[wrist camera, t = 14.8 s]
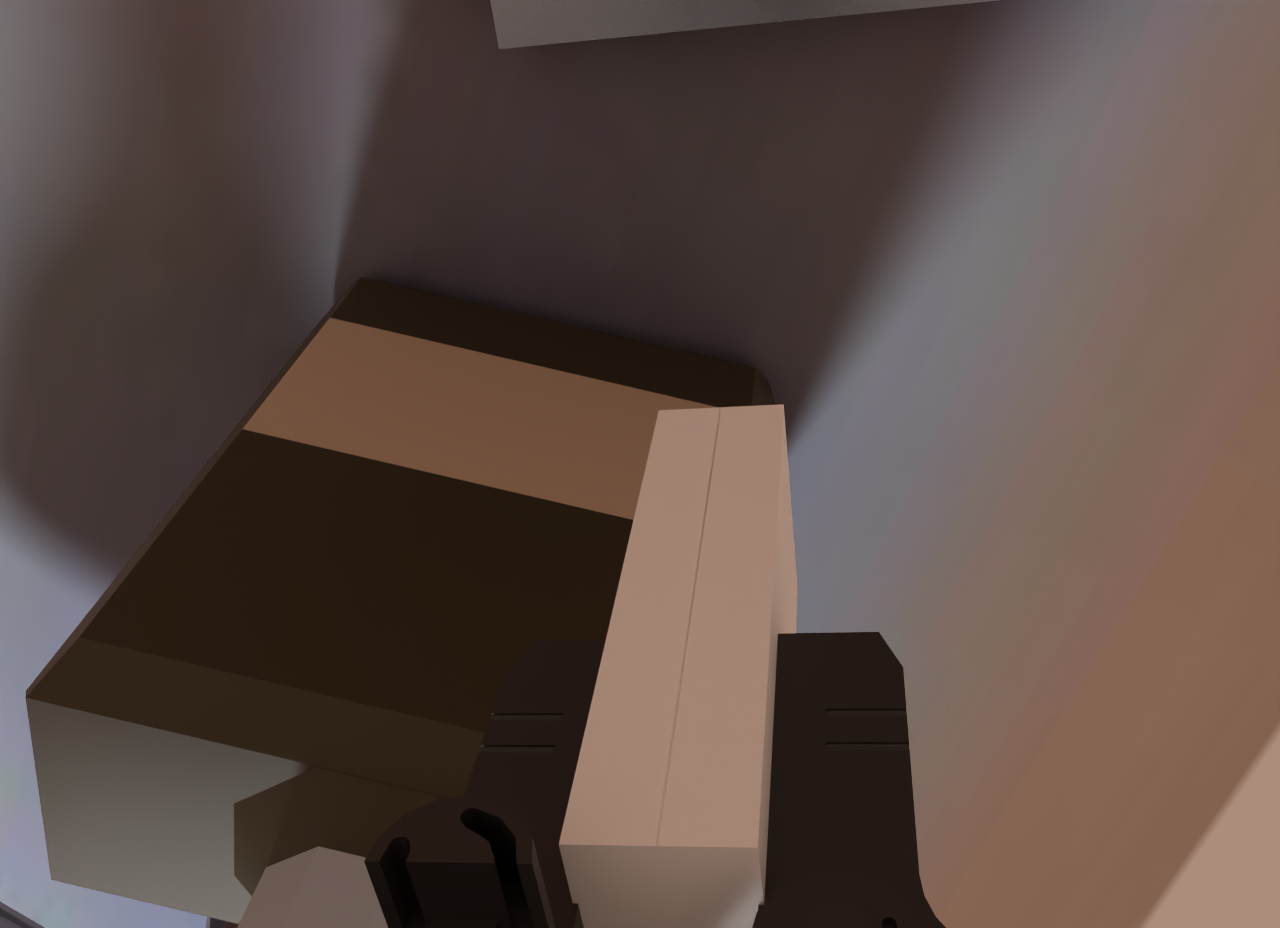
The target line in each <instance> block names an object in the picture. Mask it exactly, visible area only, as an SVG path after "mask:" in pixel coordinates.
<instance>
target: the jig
mask: <svg viewBox="0 0 1280 928" xmlns="http://www.w3.org/2000/svg"><path fill="white" fill-rule="evenodd" d="M989 1H999V0H490V2H491V8H492V13H493V19H494V24H495V30H496V35H497V41H498V46H499V49H507V48H517V47H527V46H537V45H548V44H558V43H568V42H578V41H589V40H599V39H609V38H619V37H630V36H640V35H650V34H660V33H671V32H681V31H691V30H701V29H712V28H722V27H732V26H742V25H753V24H763V23H773V22H783V21H794V20H804V19H814V18H824V17H835V16H845V15H855V14H865V13H876V12H886V11H896V10H906V9H917V8H927V7H937V6H947V5H958V4H968V3H978V2H989Z"/></svg>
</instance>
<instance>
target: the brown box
mask: <svg viewBox="0 0 1280 928" xmlns="http://www.w3.org/2000/svg"><path fill="white" fill-rule="evenodd" d="M760 405H775V404H774V400H773V396H772V392H771V388H770V384H769V383H768V382H767V381H766V380H765V378H764V377H763V376H762V375H761V374H760V373H759V372H758V371H757V369H755V368H751V367H747V366H742V365H738V364H734V363H729V362H725V361H721V360H716V359H712V358H708V357H703V356H699V355H695V354H690V353H686V352H682V351H677V350H673V349H669V348H664V347H660V346H656V345H651V344H647V343H643V342H638V341H634V340H630V339H625V338H621V337H617V336H612V335H608V334H604V333H599V332H595V331H591V330H586V329H582V328H578V327H573V326H569V325H565V324H560V323H556V322H552V321H547V320H543V319H539V318H534V317H530V316H526V315H521V314H517V313H513V312H509V311H504V310H500V309H496V308H491V307H487V306H483V305H478V304H474V303H470V302H465V301H461V300H457V299H452V298H448V297H444V296H439V295H435V294H431V293H426V292H422V291H418V290H413V289H409V288H405V287H400V286H396V285H392V284H387V283H383V282H379V281H374V280H370V279H366V278H360V279H359V280H358V281H357V282H356V283H354V284H353V285H352V286H351V287H350V288H349V289H348V290H347V291H346V292H345V294H344V295H343V296H342V297H341V298H340V299H339V300H338V302H337V303H336V304H335V305H334V306H333V307H332V308H331V310H330V311H329V312H328V313H327V314H326V315H325V316H324V318H323V319H322V320H321V321H320V322H319V323H318V325H317V326H316V327H315V328H314V330H313V331H312V332H311V333H310V335H309V336H308V337H307V338H306V340H305V341H304V342H303V343H302V345H301V346H300V347H299V349H298V350H297V351H296V352H295V354H294V355H293V356H292V357H291V359H290V360H289V361H288V362H287V364H286V365H285V366H284V367H283V369H282V370H281V371H280V372H279V374H278V375H277V376H276V377H275V379H274V380H273V381H272V382H271V384H270V385H269V386H268V387H267V389H266V390H265V391H264V392H263V394H262V395H261V396H260V398H259V399H258V400H257V401H256V403H255V404H254V405H253V406H252V408H251V409H250V410H249V411H248V413H247V414H246V415H245V416H244V418H243V419H242V420H241V421H240V423H239V424H238V425H237V426H236V428H235V429H234V430H233V431H232V433H231V434H230V435H229V436H228V438H227V439H226V440H225V442H224V443H223V444H222V445H221V447H220V448H219V449H218V450H217V452H216V453H215V454H214V455H213V457H212V458H211V459H210V460H209V462H208V463H207V464H206V465H205V467H204V468H203V469H202V470H201V472H200V473H199V474H198V475H197V477H196V478H195V479H194V480H193V482H192V483H191V484H190V486H189V487H188V488H187V489H186V491H185V492H184V493H183V494H182V496H181V497H180V498H179V499H178V501H177V502H176V503H175V504H174V506H173V507H172V508H171V509H170V511H169V512H168V513H167V514H166V516H165V517H164V518H163V519H162V521H161V522H160V523H159V524H158V526H157V527H156V528H155V530H154V531H153V532H152V533H151V535H150V536H149V537H148V538H147V540H146V541H145V542H144V543H143V545H142V546H141V547H140V548H139V550H138V551H137V552H136V553H135V555H134V556H133V557H132V558H131V560H130V561H129V562H128V563H127V565H126V566H125V567H124V568H123V570H122V571H121V572H120V573H119V575H118V576H117V577H116V579H115V580H114V581H113V582H112V584H111V585H110V586H109V587H108V589H107V590H106V591H105V592H104V594H103V595H102V596H101V597H100V599H99V600H98V601H97V602H96V604H95V605H94V606H93V607H92V609H91V610H90V611H89V612H88V614H87V615H86V616H85V617H84V619H83V620H82V621H81V623H80V624H79V625H78V626H77V628H76V629H75V630H74V631H73V633H72V634H71V635H70V636H69V638H68V639H67V640H66V641H65V643H64V644H63V645H62V646H61V648H60V649H59V650H58V651H57V653H56V654H55V655H54V656H53V658H52V659H51V660H50V661H49V663H48V664H47V665H46V667H45V668H44V669H43V670H42V672H41V673H40V674H39V675H38V677H37V678H36V679H35V680H34V682H33V683H32V684H31V685H30V687H29V688H28V689H27V690H26V703H27V710H28V717H29V724H30V732H31V739H32V746H33V753H34V760H35V767H36V774H37V781H38V788H39V795H40V802H41V810H42V817H43V824H44V831H45V838H46V845H47V852H48V859H49V866H50V873H51V880H55V881H59V882H63V883H68V884H72V885H76V886H80V887H84V888H89V889H93V890H97V891H101V892H106V893H110V894H114V895H118V896H122V897H127V898H131V899H135V900H139V901H144V902H148V903H152V904H156V905H161V906H165V907H169V908H173V909H177V910H182V911H186V912H190V913H194V914H199V915H203V916H207V917H211V918H215V919H220V920H224V921H228V922H232V923H237V924H239V925H238V927H237V928H388V926H387V923H386V920H385V918H384V915H383V912H382V909H381V907H380V904H379V901H378V898H377V896H376V893H375V890H374V887H373V885H372V882H371V879H370V876H369V874H368V871H367V868H366V865H365V863H364V860H365V859H366V857H367V855H368V854H369V852H370V851H371V849H372V847H373V846H374V844H375V843H376V841H377V839H378V838H379V836H380V835H381V834H382V833H383V832H384V831H386V830H387V829H388V828H389V827H390V826H392V825H393V824H394V823H395V822H396V821H398V820H399V819H400V818H401V817H402V816H404V815H405V814H406V813H408V812H411V811H413V810H415V809H417V808H420V807H422V806H424V805H426V804H429V803H431V802H433V801H435V800H440V799H447V798H454V797H461V796H464V795H465V792H466V789H467V786H468V783H469V780H470V776H471V773H472V770H473V767H474V764H475V761H476V758H477V755H478V753H481V743H482V740H483V737H484V733H485V730H486V727H487V724H488V721H491V712H492V709H493V706H494V703H495V700H496V697H497V694H498V691H499V687H500V684H501V681H502V678H503V675H504V674H505V672H506V671H507V670H508V669H509V668H510V667H511V666H512V665H513V663H514V662H515V661H516V660H517V659H518V658H519V657H520V656H521V654H522V653H523V652H524V651H525V650H526V649H527V648H528V647H529V645H530V644H531V643H532V642H533V641H534V640H591V639H606V637H607V633H608V629H609V624H610V620H611V616H612V611H613V607H614V603H615V598H616V594H617V589H618V585H619V581H620V576H621V572H622V568H623V563H624V559H625V555H626V550H627V546H628V542H629V537H630V533H631V529H632V524H633V520H634V516H635V511H636V507H637V503H638V498H639V494H640V490H641V485H642V481H643V477H644V472H645V468H646V464H647V459H648V455H649V451H650V446H651V442H652V438H653V433H654V429H655V425H656V420H657V416H658V412H659V410H677V409H698V408H718V407H739V406H760Z"/></svg>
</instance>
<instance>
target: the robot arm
mask: <svg viewBox="0 0 1280 928" xmlns="http://www.w3.org/2000/svg"><path fill="white" fill-rule="evenodd" d="M796 617H797V574H796V561H795V548H794V534H793V521H792V508H791V495H790V481H789V468H788V455H787V441H786V428H785V415H784V404H781V405H760V406H739V407H718V408H698V409H677V410H659V412H658V416H657V420H656V425H655V429H654V433H653V438H652V442H651V446H650V451H649V455H648V459H647V464H646V468H645V472H644V477H643V481H642V485H641V490H640V494H639V498H638V503H637V507H636V511H635V516H634V520H633V524H632V529H631V533H630V537H629V542H628V546H627V550H626V555H625V559H624V563H623V568H622V572H621V576H620V581H619V585H618V589H617V594H616V598H615V603H614V607H613V611H612V616H611V620H610V624H609V629H608V633H607V637H606V639H591V640H534V641H533V642H532V643H531V644H530V645H529V647H528V648H527V649H526V650H525V651H524V652H523V653H522V654H521V656H520V657H519V658H518V659H517V660H516V661H515V662H514V663H513V665H512V666H511V667H510V668H509V669H508V670H507V671H506V672H505V674H504V675H503V678H502V681H501V684H500V687H499V691H498V694H497V697H496V700H495V703H494V706H493V709H492V712H491V721H488V724H487V727H486V730H485V733H484V737H483V740H482V743H481V753H478V755H477V758H476V761H475V764H474V767H473V770H472V773H471V776H470V780H469V783H468V786H467V789H466V792H465V795H464V796H461V797H454V798H447V799H440V800H435V801H433V802H431V803H429V804H426V805H424V806H422V807H420V808H417V809H415V810H413V811H411V812H408V813H406V814H405V815H404V816H402V817H401V818H400V819H399V820H398V821H396V822H395V823H394V824H393V825H392V826H390V827H389V828H388V829H387V830H386V831H384V832H383V833H382V834H381V835H380V836H379V838H378V839H377V841H376V843H375V844H374V846H373V847H372V849H371V851H370V852H369V854H368V855H367V857H366V859H365V860H364V863H365V865H366V868H367V871H368V874H369V876H370V879H371V882H372V885H373V887H374V890H375V893H376V896H377V898H378V901H379V904H380V907H381V909H382V912H383V915H384V918H385V920H386V923H387V926H388V928H946V927H945V926H944V925H943V924H942V923H941V922H940V921H939V920H938V919H937V918H936V916H935V915H934V913H933V911H932V909H931V907H930V905H929V904H928V902H927V900H926V898H925V896H924V893H923V889H922V884H921V880H920V876H919V865H918V852H917V840H916V827H915V814H914V801H913V789H912V776H911V763H910V751H909V738H908V725H907V715H906V700H905V687H904V674H903V667H902V665H901V664H900V662H899V661H898V659H897V658H896V656H895V655H894V654H893V652H892V651H891V649H890V648H889V646H888V645H887V643H886V642H885V640H884V639H883V638H882V636H881V635H880V633H879V632H851V633H796ZM238 925H239V924H237V923H232V922H228V921H224V920H220V919H215V918H211V917H207V923H206V928H237V927H238ZM0 928H44V927H42V926H41V925H39V924H37V923H36V922H34V921H32V920H31V919H29V918H27V917H25V916H24V915H22V914H20V913H19V912H17V911H15V910H13V909H12V908H10V907H8V906H7V905H5V904H3V903H2V902H0Z"/></svg>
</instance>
